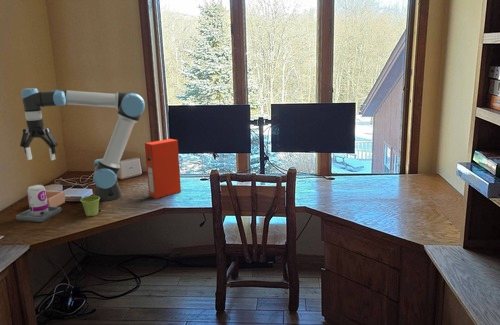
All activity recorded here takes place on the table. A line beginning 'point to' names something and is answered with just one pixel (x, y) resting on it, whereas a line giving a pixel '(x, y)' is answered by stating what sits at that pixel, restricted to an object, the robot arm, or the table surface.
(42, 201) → the supplement can
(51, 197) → the holder
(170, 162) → the file binder
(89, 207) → the plant pot
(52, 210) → the tray
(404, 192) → the table surface
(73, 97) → the robot arm
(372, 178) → the table surface
